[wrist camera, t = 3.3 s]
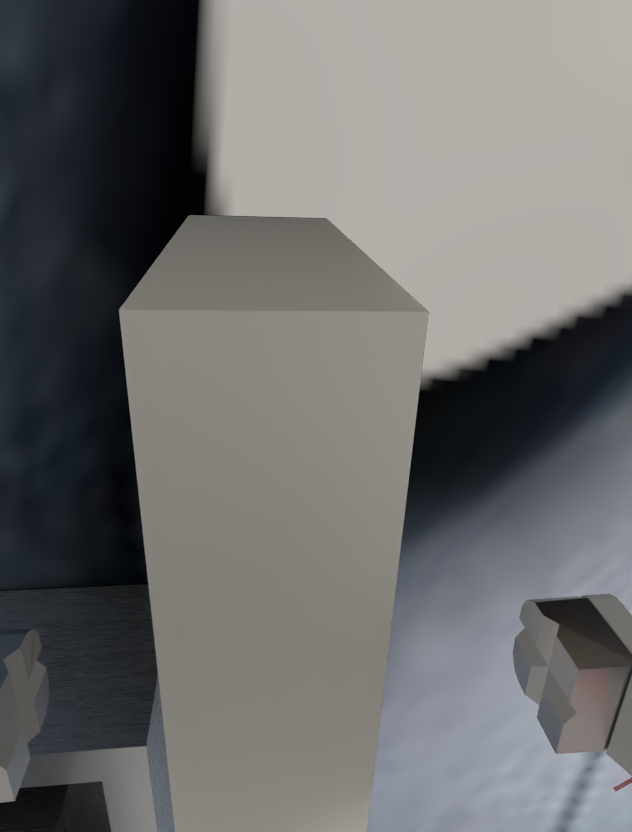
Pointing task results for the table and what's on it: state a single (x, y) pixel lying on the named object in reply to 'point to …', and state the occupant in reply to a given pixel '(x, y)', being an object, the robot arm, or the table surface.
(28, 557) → the table surface
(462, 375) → the table surface
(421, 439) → the table surface
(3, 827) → the rack
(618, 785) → the figurine
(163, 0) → the table surface
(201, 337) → the panel
